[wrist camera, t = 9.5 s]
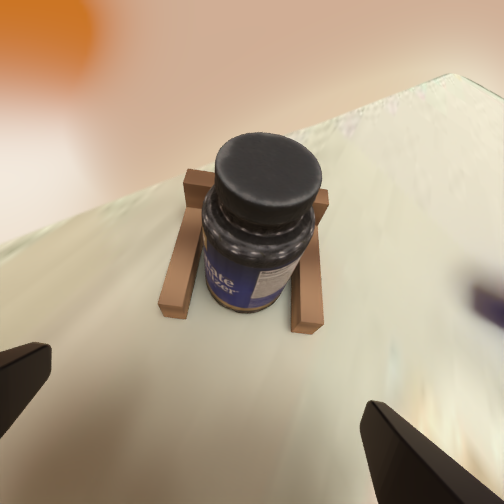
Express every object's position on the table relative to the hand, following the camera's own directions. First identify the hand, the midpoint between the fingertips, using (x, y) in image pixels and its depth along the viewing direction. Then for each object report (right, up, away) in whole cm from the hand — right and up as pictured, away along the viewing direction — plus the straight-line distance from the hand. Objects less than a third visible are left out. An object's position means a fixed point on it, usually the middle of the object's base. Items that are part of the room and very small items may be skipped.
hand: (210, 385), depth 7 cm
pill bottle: (+1, +2, +13) cm, 13 cm away
